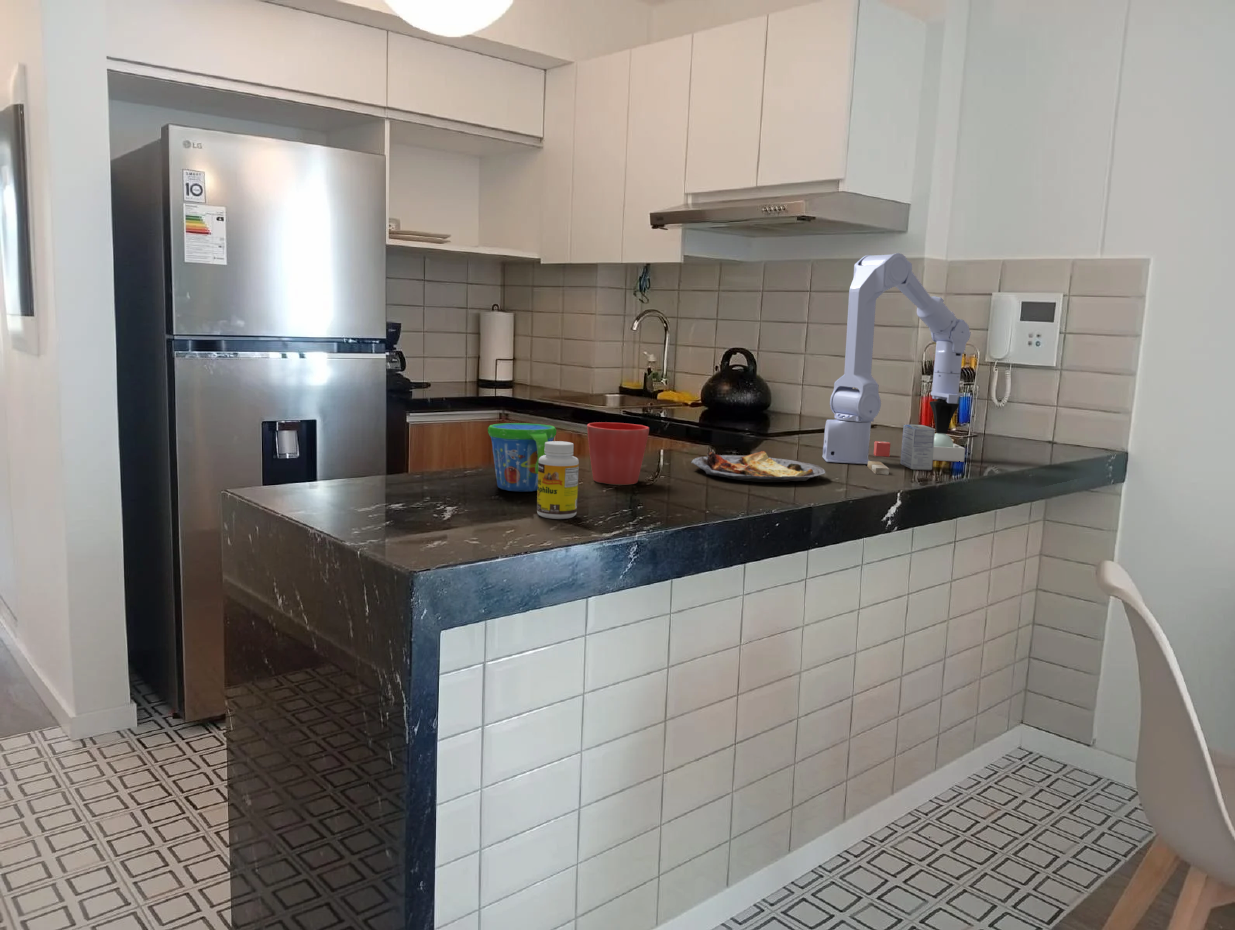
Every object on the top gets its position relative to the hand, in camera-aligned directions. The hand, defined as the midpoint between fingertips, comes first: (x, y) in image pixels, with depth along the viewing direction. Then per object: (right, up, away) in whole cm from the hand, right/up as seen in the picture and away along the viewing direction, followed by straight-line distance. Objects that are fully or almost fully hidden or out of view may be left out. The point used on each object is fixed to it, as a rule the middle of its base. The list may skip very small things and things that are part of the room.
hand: (941, 433), depth 209 cm
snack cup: (-89, -11, -61) cm, 109 cm away
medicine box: (-11, -8, -16) cm, 21 cm away
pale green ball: (0, -5, +1) cm, 5 cm away
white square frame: (0, -6, +1) cm, 6 cm away
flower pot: (-74, -10, -50) cm, 90 cm away
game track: (-21, -8, -24) cm, 33 cm away
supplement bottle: (-82, -15, -81) cm, 116 cm away
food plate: (-47, -10, -35) cm, 60 cm away
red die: (-13, -5, +1) cm, 14 cm away
